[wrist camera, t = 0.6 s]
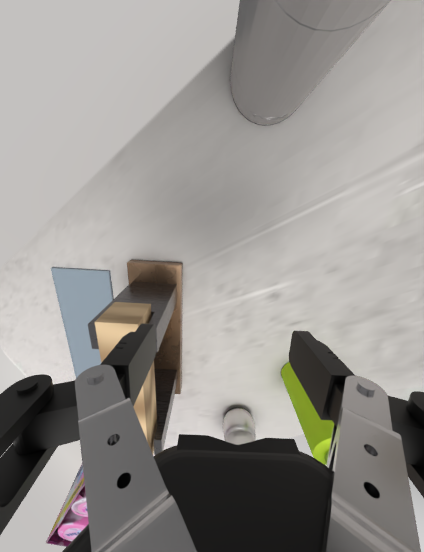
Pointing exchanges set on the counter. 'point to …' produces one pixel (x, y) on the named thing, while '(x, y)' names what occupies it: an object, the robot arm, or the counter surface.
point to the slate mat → (81, 309)
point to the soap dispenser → (308, 416)
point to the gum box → (71, 514)
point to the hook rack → (157, 329)
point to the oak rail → (109, 333)
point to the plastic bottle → (238, 427)
